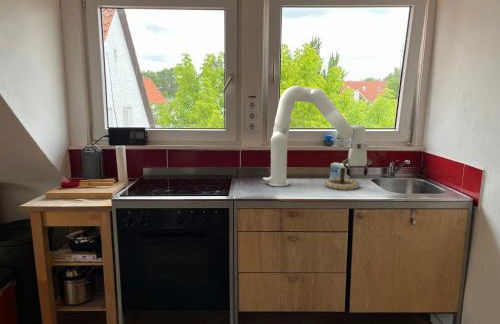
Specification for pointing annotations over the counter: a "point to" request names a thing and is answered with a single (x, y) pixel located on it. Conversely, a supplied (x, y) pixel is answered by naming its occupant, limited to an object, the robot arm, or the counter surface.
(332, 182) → the woven wreath ring
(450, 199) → the counter surface
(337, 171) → the light bulb box
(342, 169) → the brown peg stand
